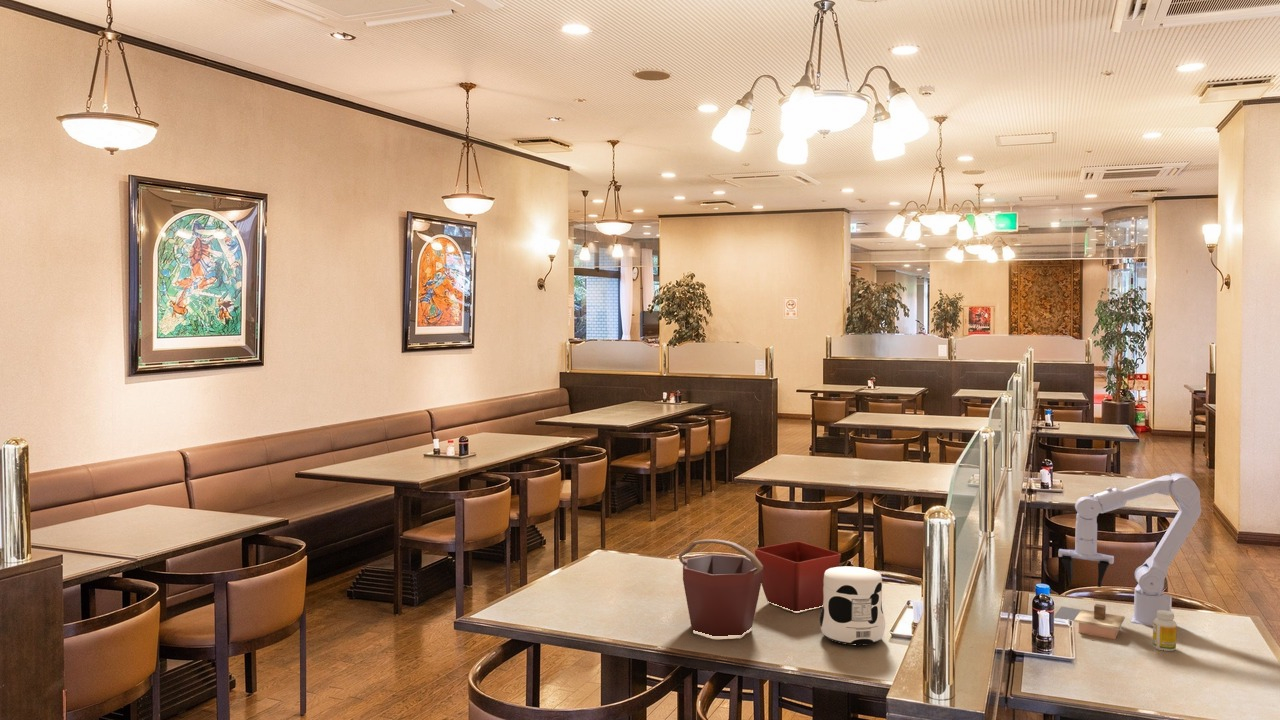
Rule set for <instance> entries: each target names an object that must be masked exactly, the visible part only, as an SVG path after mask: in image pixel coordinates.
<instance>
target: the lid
mask: <svg viewBox="0 0 1280 720" xmlns="http://www.w3.org/2000/svg"><path fill="white" fill-rule="evenodd" d="M1106 607H1107V606H1106V605H1105V604H1099V603H1095V604H1094V606H1093V610H1087V609H1080V610H1081V611H1080V612H1079V614H1078V615H1077V617H1076V618H1075V619H1074V623H1078V624H1079V623H1085V624H1090V625H1096V626H1102V627H1107V628H1113V629H1119V628H1120V629H1121V627H1122V624H1123V623H1124V621H1125V619H1126V618H1125V617H1126V616H1123V615H1119V614H1118V615H1117V614H1112V613H1111V614H1110V613H1106V610H1107V609H1106Z"/></svg>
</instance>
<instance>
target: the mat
mask: <svg viewBox="0 0 1280 720" xmlns="http://www.w3.org/2000/svg"><path fill="white" fill-rule="evenodd" d="M1080 611H1081V609H1079V608H1073V607H1067V606H1062V605H1061V606H1060V607H1059V609H1058V610H1057V612H1056V613H1055V614H1054V615H1055V617H1054V618H1058V619H1062V620H1067V619H1069V620H1068V621H1074V619H1075V618H1076V617H1077V615H1078V614H1079V612H1080Z"/></svg>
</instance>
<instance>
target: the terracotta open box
mask: <svg viewBox="0 0 1280 720" xmlns="http://www.w3.org/2000/svg"><path fill="white" fill-rule="evenodd" d="M1120 629H1121V627H1120V628H1119V629H1113V628H1107V627H1102V626H1096V625H1090V624H1085V623H1079V622H1078V633H1079V634H1081V635H1082V634H1083V635H1087V636H1088V635H1090V636H1093V637H1098V638H1099V637H1101V638H1106V639H1110V640H1111V639H1112V640H1116V638H1117V637H1118V634H1119V633H1120V631H1121V630H1120Z"/></svg>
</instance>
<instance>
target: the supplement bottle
mask: <svg viewBox="0 0 1280 720" xmlns="http://www.w3.org/2000/svg"><path fill="white" fill-rule="evenodd" d="M1157 617H1158V618H1156V619H1154V621H1153V626H1152V646H1153V648H1156V650H1159V651H1163V650H1164V651H1165V652H1174V651H1175V650H1176V649H1177V626H1178V624H1177V622H1176V621H1175V620H1174V619H1175V613H1174V612H1172V611H1171V612H1170V611H1165V610H1158V611H1157Z"/></svg>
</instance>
